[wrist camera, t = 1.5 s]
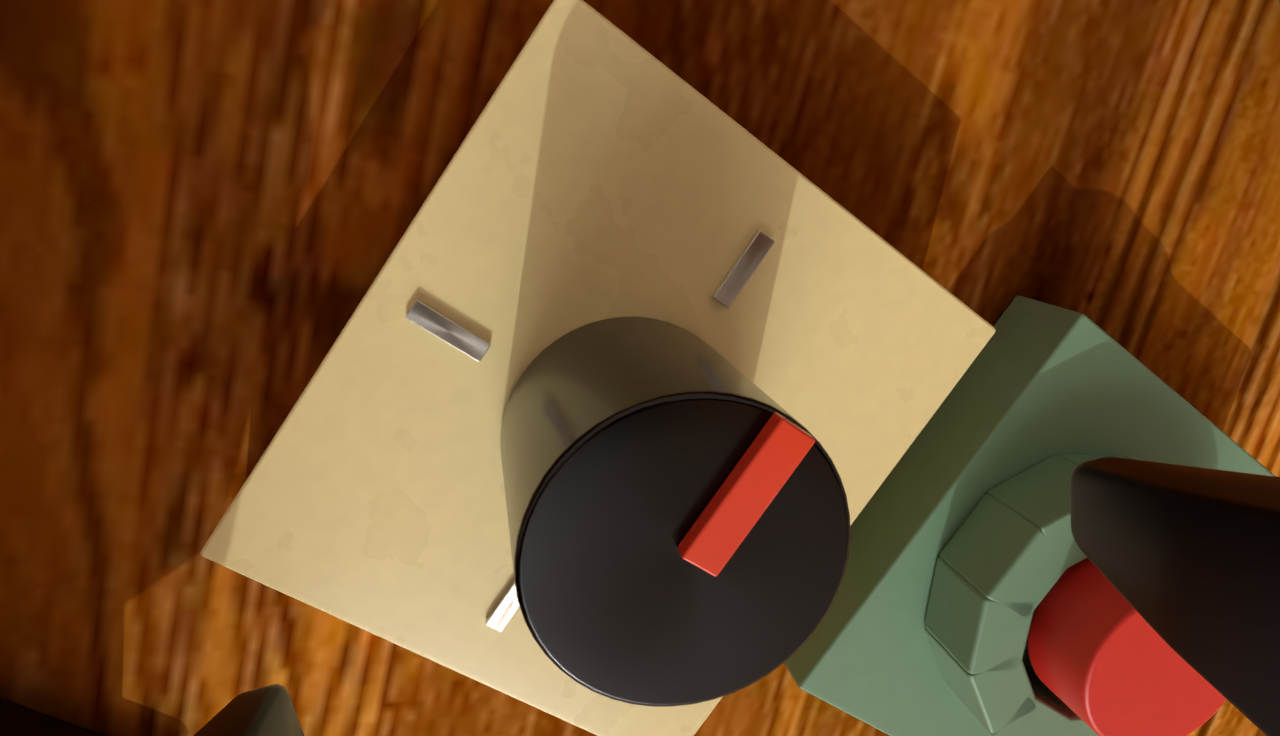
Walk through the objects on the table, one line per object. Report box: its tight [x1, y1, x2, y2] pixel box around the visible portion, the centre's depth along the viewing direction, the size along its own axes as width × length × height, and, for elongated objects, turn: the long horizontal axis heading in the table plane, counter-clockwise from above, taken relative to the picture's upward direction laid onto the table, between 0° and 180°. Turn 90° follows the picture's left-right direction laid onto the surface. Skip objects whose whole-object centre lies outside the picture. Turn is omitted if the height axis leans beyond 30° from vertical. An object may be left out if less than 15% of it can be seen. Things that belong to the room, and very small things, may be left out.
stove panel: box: [201, 0, 996, 736], centre depth 16 cm, size 11×10×3 cm
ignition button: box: [1027, 557, 1226, 736], centre depth 16 cm, size 4×4×2 cm
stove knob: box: [500, 317, 851, 707], centre depth 12 cm, size 4×4×5 cm
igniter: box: [784, 295, 1276, 736], centre depth 19 cm, size 10×8×4 cm
